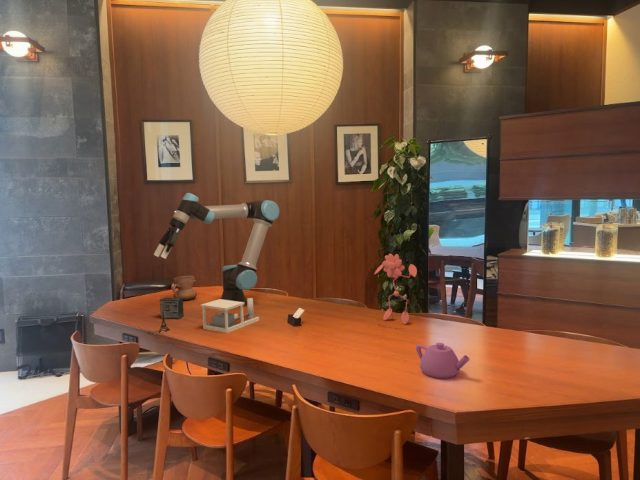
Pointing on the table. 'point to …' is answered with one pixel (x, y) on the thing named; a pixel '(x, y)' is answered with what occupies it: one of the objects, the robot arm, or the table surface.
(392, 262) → the pink flower figurine
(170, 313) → the small box
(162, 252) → the robot arm
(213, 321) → the block
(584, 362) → the table surface
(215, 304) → the frame
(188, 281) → the ceramic jug
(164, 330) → the eiffel tower figurine
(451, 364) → the teapot
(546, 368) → the table surface
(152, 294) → the table surface
